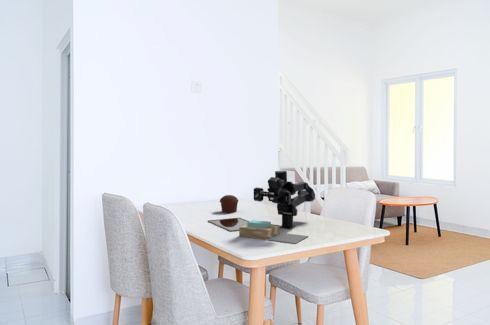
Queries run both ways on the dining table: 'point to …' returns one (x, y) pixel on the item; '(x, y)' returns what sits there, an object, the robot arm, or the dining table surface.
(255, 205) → the dining table surface
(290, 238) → the mat
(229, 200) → the muffin
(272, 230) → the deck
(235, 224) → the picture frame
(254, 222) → the teal rectangular block
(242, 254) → the dining table surface
